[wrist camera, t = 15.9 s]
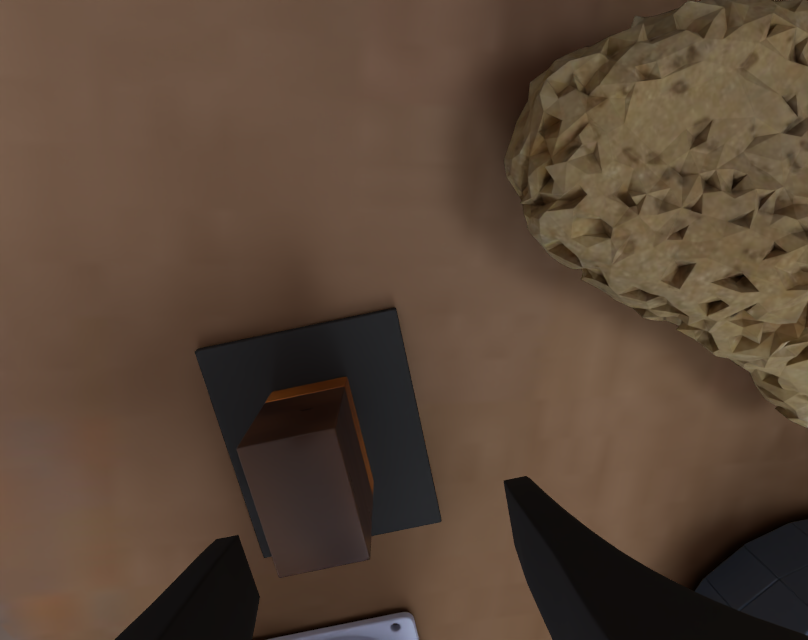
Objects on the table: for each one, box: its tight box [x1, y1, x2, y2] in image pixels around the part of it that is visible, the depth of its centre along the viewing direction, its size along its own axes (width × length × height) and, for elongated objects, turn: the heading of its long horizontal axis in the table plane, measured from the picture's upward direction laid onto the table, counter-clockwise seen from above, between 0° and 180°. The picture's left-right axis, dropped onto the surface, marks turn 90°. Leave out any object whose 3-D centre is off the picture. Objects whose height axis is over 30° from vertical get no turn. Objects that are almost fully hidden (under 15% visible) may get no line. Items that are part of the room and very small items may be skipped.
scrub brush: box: [237, 377, 374, 578], centre depth 19 cm, size 4×6×5 cm, turn 12°
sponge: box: [504, 0, 808, 428], centre depth 17 cm, size 13×8×20 cm
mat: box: [195, 308, 441, 558], centre depth 21 cm, size 9×11×1 cm
